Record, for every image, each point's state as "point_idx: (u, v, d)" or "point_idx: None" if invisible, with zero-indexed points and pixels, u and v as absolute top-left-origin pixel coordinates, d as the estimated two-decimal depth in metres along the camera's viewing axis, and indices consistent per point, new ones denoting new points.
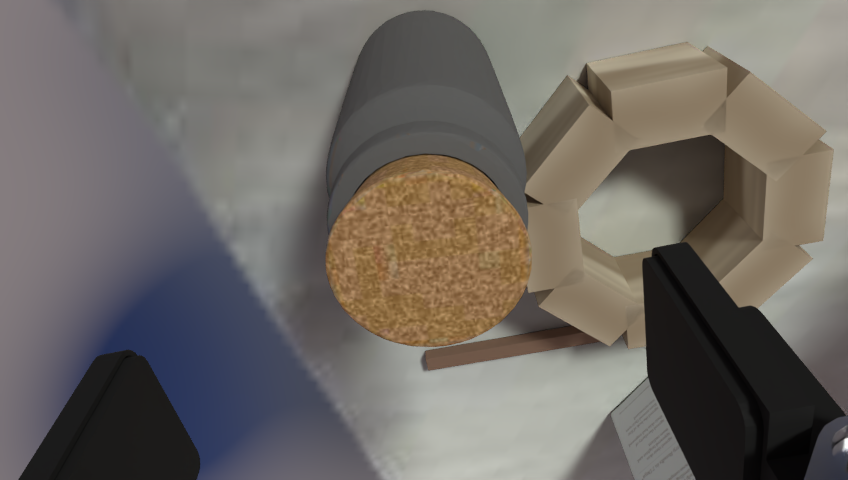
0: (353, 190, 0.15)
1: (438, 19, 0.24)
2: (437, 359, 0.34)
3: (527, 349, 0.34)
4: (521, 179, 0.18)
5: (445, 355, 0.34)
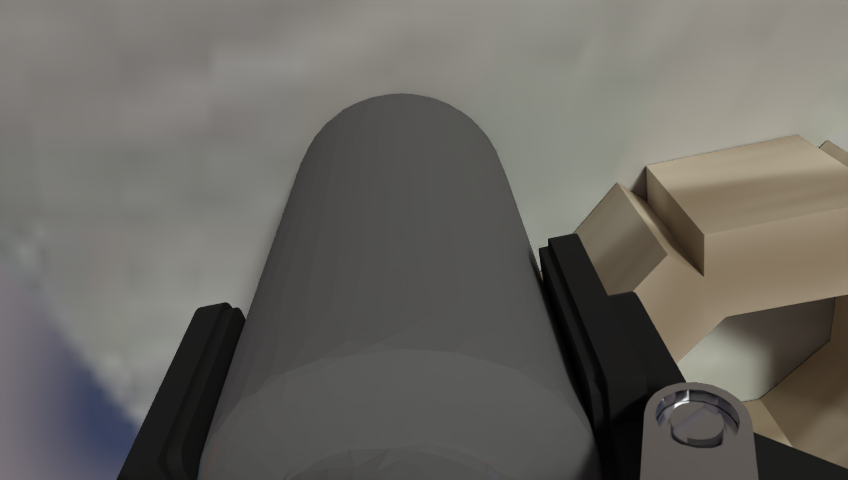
0: None
1: (423, 116, 0.15)
2: None
3: None
4: None
5: None
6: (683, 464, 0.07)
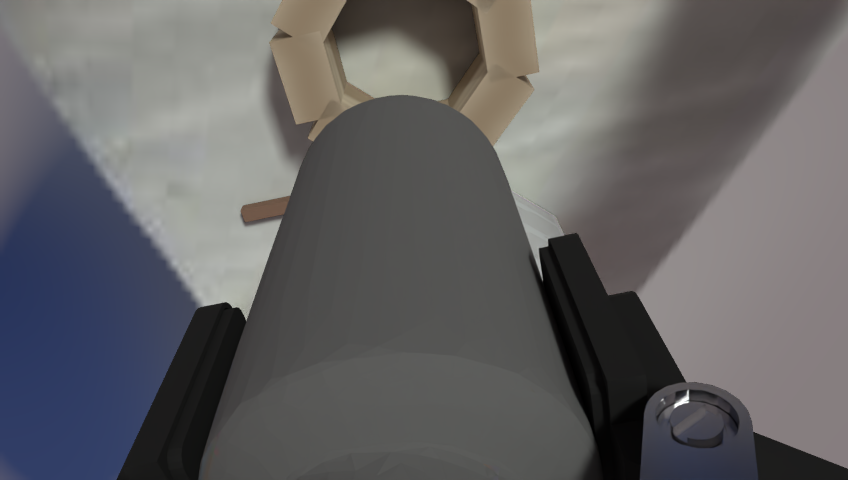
0: None
1: (423, 117, 0.15)
2: (250, 210, 0.39)
3: None
4: None
5: (257, 207, 0.39)
6: (683, 464, 0.07)
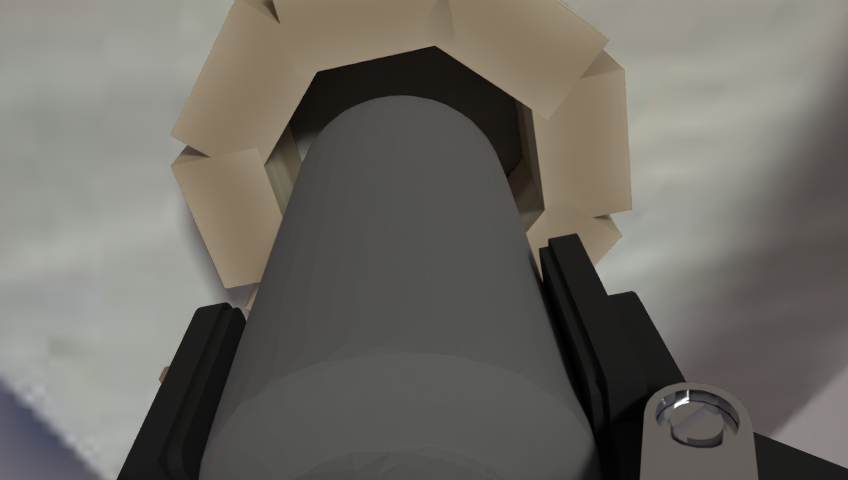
0: None
1: (423, 117, 0.15)
2: None
3: None
4: None
5: None
6: (683, 464, 0.07)
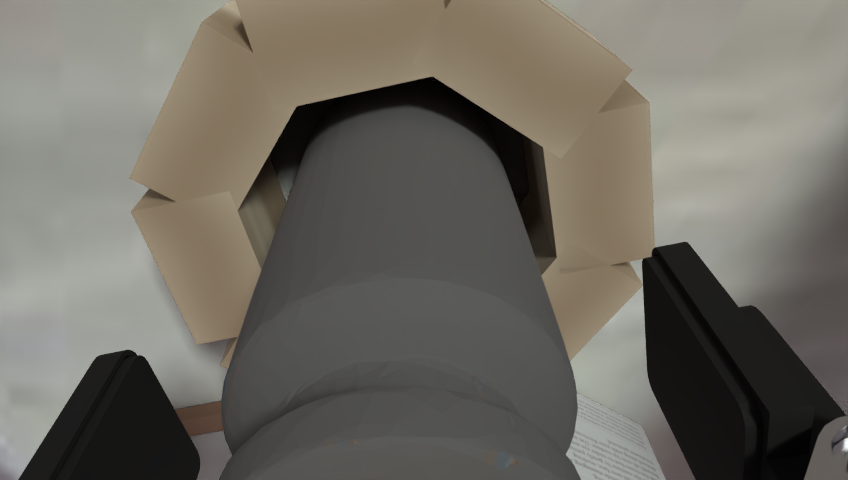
0: None
1: (421, 95, 0.16)
2: None
3: None
4: (569, 423, 0.10)
5: None
6: None
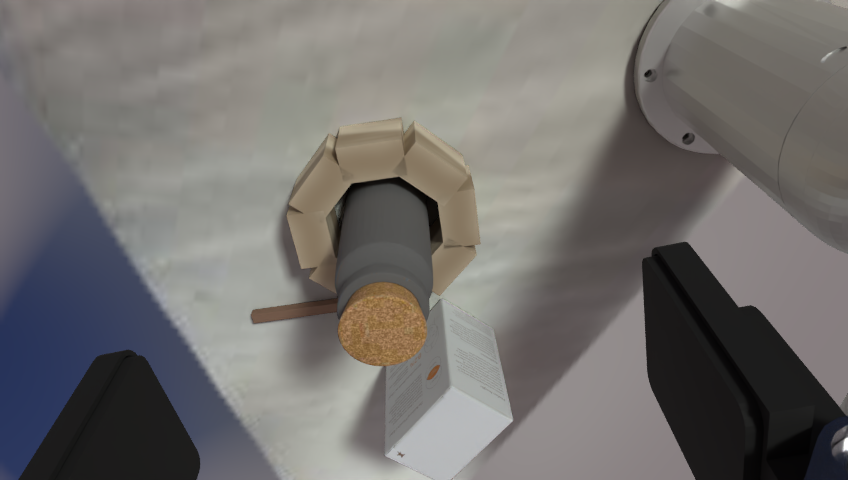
0: (350, 295, 0.34)
1: (396, 178, 0.43)
2: (259, 315, 0.50)
3: (320, 310, 0.50)
4: (430, 285, 0.37)
5: (264, 313, 0.50)
6: None
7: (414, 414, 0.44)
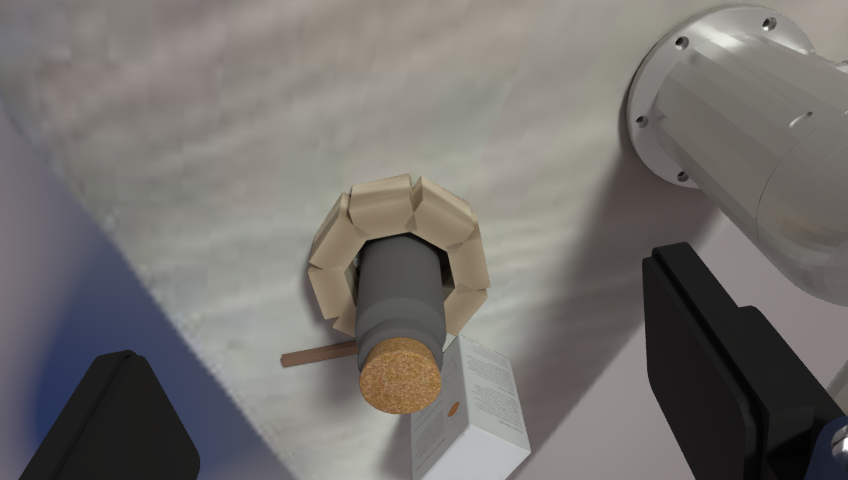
0: (369, 350, 0.37)
1: None
2: (288, 359, 0.53)
3: (345, 352, 0.53)
4: (443, 334, 0.40)
5: (293, 357, 0.53)
6: None
7: (438, 449, 0.47)
